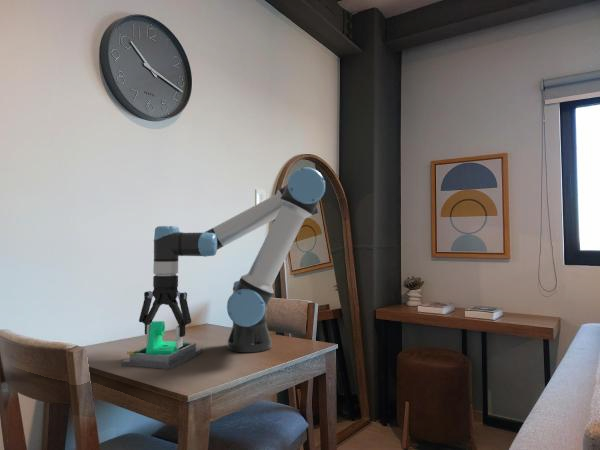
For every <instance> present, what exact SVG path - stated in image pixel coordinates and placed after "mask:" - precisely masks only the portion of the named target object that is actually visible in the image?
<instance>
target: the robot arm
mask: <svg viewBox="0 0 600 450" xmlns="http://www.w3.org/2000/svg"><path fill="white" fill-rule="evenodd" d="M325 192H326V180H325V178H324V176H323V175H322V174H321V172H319V170H317V169H315V168H313V167H308V166H306V167H301V168H298V169H296V170H295V171H293V172H292V173H291V174H290V175H289V177H288V182H287V184H285V185H284V186H283V187H281V188H279V189H278V190H277V191H276V193H275V194H274V195H272V196H270V197H268V198H266V199H265V200H263V201H261V202H259V203H257V204H256V205H253V206H251V207H249V208H248V209H245V210H243V211H242V212H240V213H239V214H236V215H234V216H233V217H230V218H229V219H227V220H225V221H223V222H221V223H220V224H218V225H215V226H214V227H212V228H210V229H207V230H206V231H204V232H182V231H180V228H179V227H178V226H175V225H158V226H156V227H155V229H154V237H153V268H152V269H153V271H152V272H153V276H152V277H153V278H152V279H153V280H152V281H153V282H152V287H153V290H152V291H151V290H148V291H145V292H144V293H143V296H144V298H143V303H142V307H141V311H140V314H139V319H138V322H139V323H142V324H144V334H145V335H146V346H145V347H147V344H148V338H149V333H150V327H151V323H152V322H153V320H154V318H155V317H156V314H158V313H157V312H158V311H159V309H160V307H161V306H162V305H165V306H168V307H169V308H170V310H171V311H172V314H173V315H174V318H175V321H176V322H177V324H178V325H177V326H176V330H175V331H176V335H175V339H176V348H180V347H182V346H183V342H184V337H185V336H186V326H187V325H190V324H191V323H192V317H191V314H190V309H189V306H188V300H187V299H188V298H187V297H188V293H187V292H180V291H179V290H178V287H179V276H178V273H179V257H213V256H215V255H217V251H218V250H220V249H221V248H223V247H225V246H227V245H229V244H231V243H232V242H233V243H234V241H237V240H238V239H240V238H242V237H244V236H245V235H247V234H250V233H251V232H253V231H255V230H257V229H259V228H261V227H263V226H264V225H266V224H268V223H270V222H272V221H273V223H272V225H271V227H270V228H269V231H268V233H267V235H266V237H265V239H264V241H263V243H262V245H261V247H260V249H259V251H258V252H257V255H256V257H255V259H254V261H253V262H252V264H251V267H250V269H249V271H248V272H247V273H246V274H244V275H241V277H239V278H240V279H239V280H236V281H234V282H233V287H232V293H231V295H230V296H229V298H228V299H227V303H226V311H227V315H228V317H229V319H230V320H231V321H232V327H231V330H230V333H229V337H228V339H227V349H228V350H229V351H233V352H236V353H237V352H238V353H259V352H264V351H267V350H270V349H271V348H272V339H271V336H270V333H269V332H270V331H269V329H268V325H267V307H268V305H269V303H270V302H271V300H272V297H273V295H274V293H275V290H274V287H273V284H274V282H275V281H276V278H277V276H278V275H279V272H280V271H281V268H282V266H283V265H284V262H285V260H286V258H287V256H288V254H289V253H290V250H291V248H292V246H293V244H294V242H295V241H296V238H297V236H298V234H299V233H300V230H301V228H302V226H303V224H304V222H305V220H306V219H308V218H310V217H312V216H313V214H314V212H315V210H316V208H317V206H318V204H319V202H320V200H321V199H322V198H323V196H324V195H325ZM153 298H154V301H153V303H152V300H153ZM177 299H179V300H177ZM178 301H179V302H178ZM151 304H152V305H151ZM179 306H180V307H179Z"/></svg>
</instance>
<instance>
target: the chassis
mask: <svg viewBox="0 0 600 450" xmlns="http://www.w3.org/2000/svg"><path fill="white" fill-rule="evenodd" d="M168 341H169V340H163V342H168ZM146 349H147V346H145V347H142V348H140V349H137V350H136V349H135V350H134V349H133V350H132V349H130V350H128V351H127V352H126V354H127V355H129V358H127V359H124V360H121V366H124V367H125V366H127V367H136V368H137V367H138V368H147V369H148V368H151V369H152V368H153V369H161V370H162V369H163V370H172V369H175V368H176V367H178V366H180V365H182V364H183V363H185V362H187V361H189V360H190V359H192V358H194V357H195V356H198V355H199V354H202V353H203V348H202V347H197V343H196V342H185V341H183V346H182V347H180V348H179V350H178V351H175V352H173V353H171V354H169V355H157V354H146Z"/></svg>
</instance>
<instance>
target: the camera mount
mask: <svg viewBox="0 0 600 450" xmlns="http://www.w3.org/2000/svg"><path fill="white" fill-rule="evenodd" d="M165 330H166V323H165V321H163V320H161V321H160V320H159V321H158V320H157V321H156V320H155V321H153V320H152V323H151V327H150V333H149V338H148V344H147V343H146V345H147V346H146V347H147V349H146V354H157V355H169V354H171V353H173V352H175V351H178V350H179V348H176V341H174V340H173V341H169V340H167V341H168V342H163V341H164V340H163V337H164V335H165V332H166V331H165Z"/></svg>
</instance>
